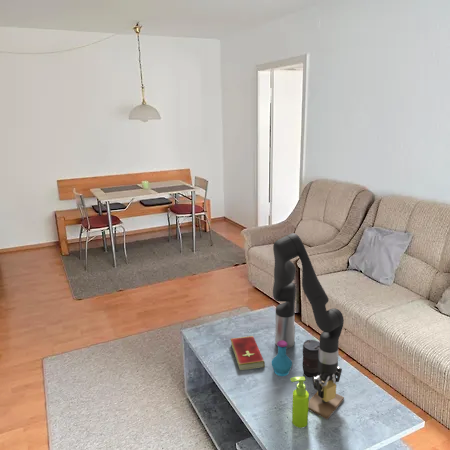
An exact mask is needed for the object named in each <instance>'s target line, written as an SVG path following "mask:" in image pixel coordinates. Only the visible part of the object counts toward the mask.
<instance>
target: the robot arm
mask: <svg viewBox="0 0 450 450" xmlns="http://www.w3.org/2000/svg"><path fill="white" fill-rule="evenodd" d="M272 247H273V256H274V257H273V258H274V269H273V278H274V281H273V286H272V296H273V300H275V301H276V302H282V303H280V304H278V305H277V306H276V307H275V327H274V328H275V329H274V331H275V332H274V333H275V336H274V337H275V339H274V340H275V342H274V344H275V346H277V347H278V345H277V342H279V341H281V340H283V341H285V342H287V347H286V349H291V348H293V347H294V345H295V337H296V334H295V333H296V325H295V318H296V317H295V316H296V315H295V312H296V311H295V310H296V308H295V307H296V306H295V305H296V295H297V288H296V284H295V282H294V280H295V277H296V269H297V268H296V265H295V264H294V263H293V262H292V261H291V260H294V259H296V258H297V257H298V258H299V260H300V262H301V271H302V274H301V275H302V276H301V286H302V287H301V288H302V290H303V292H304V294H305V297H306V298H307V300H308V302H309V304H310V305H311V308H312V313H313V317H314V320H315V323H316V326H317V327H318V328H319V330H321V331H322V332H321V334H320V336H319V343H320V344H319V352H318V369H319V373H318V376H317V377H312V378H311V379H312V380H311V381H312V384H313V388H314V389H315V390H316V392H317V391H318V396H319V397H321V398H324V387H325V386H326V385H327V382H328V381H330V380H331V381H332V382H333V383H335V384H336V385H337V383H339V382H340V379H341V375H342V372H343V369H342V368H341V367H340V366H339V341H340V336H341V334H342V330H343V327H344V316H343V313H342V311H341V310H340V309H338V308H335V307H334V308H329V309H328V310H327V307H326V305H327V304H328V302H329V296H328V295H327V292H326V291H325V289H324V287H323V286H322V284H321V282H320V280H319V279H318V276H317V274H316V271H315V270H314V266H313V264H312V262H311V259H310V257H309V255H308V251H307V249H306V248H305V245H304V243H303V241H302V239H301V238H300V236H299V235H298V234H296V233H294V232H292V233H289V234H287V235H285V236H283V237H281V238H279V239H277V240H276V241H275V242H273V246H272ZM321 385H322V387H321Z"/></svg>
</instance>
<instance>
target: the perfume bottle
mask: <svg viewBox="0 0 450 450" xmlns="http://www.w3.org/2000/svg"><path fill="white" fill-rule="evenodd" d="M277 345H278V346H277ZM277 345H276V346H277V354H276V355H275V356H273V358H272V359H271V367H272V368H273V369H272V370H273V371H274V374H276V375H277V376H279V377H286V376H288V375H289V373H290V371H291V369H292V366H293V361H292V359H291V358H290V357H289V356H288V355H287V348H286V347H287V342H285V341H283V340H281V341H279V342H277Z"/></svg>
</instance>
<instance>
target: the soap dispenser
mask: <svg viewBox="0 0 450 450" xmlns="http://www.w3.org/2000/svg"><path fill="white" fill-rule="evenodd" d="M290 381H291V383H295V382H298V383H296V388H295V389H294V390H293V391H292V405H291V406H292V410H291V411H292V412H291V413H292V414H291V415H292V416H291V423H292V425H293V426H294V427H295V428H298V429H303V428H305V427H307V426H308V424H309V421H308V420H309V410H308V404H309V400H310V399H309V398H310V394H309V391H308V390H306V389H307V386H306V384H305V383H304V382H306V381H307V380H306V377H305V375H304V376H293V377H290Z"/></svg>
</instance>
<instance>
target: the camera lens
mask: <svg viewBox="0 0 450 450" xmlns="http://www.w3.org/2000/svg"><path fill="white" fill-rule="evenodd" d="M319 344H320V341H318V340H315V339H308V340H305V341H304V342H303V344H302V372H303V374H304V377H305V376H306V377H307V378H309V379H312V377H317V376H318V373H319V369H318V352H319Z"/></svg>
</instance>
